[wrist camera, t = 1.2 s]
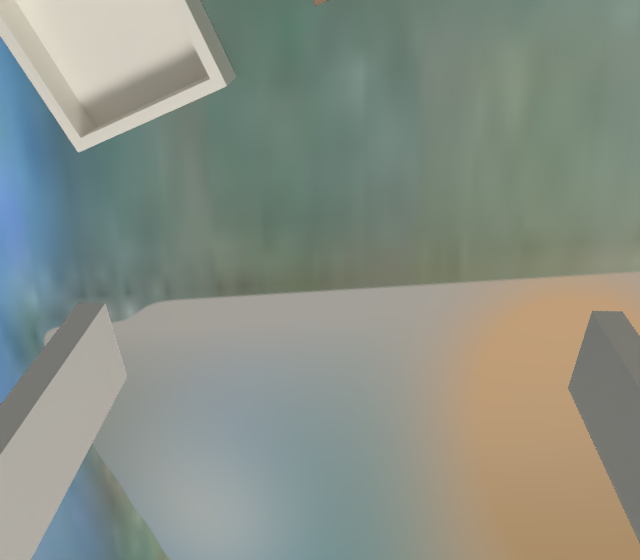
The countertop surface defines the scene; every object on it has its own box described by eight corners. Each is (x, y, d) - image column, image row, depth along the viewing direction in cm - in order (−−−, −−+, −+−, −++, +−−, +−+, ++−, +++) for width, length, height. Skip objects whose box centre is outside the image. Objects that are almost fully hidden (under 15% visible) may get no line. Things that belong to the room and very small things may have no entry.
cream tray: (-13, -31, 34) (-43, -29, 32) (141, -123, 31) (122, -129, 29) (96, 139, 40) (78, 152, 37) (236, 76, 37) (226, 86, 34)
